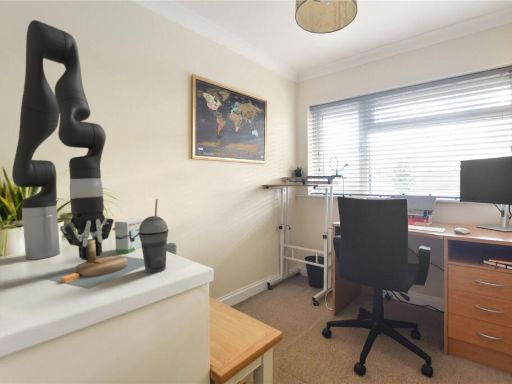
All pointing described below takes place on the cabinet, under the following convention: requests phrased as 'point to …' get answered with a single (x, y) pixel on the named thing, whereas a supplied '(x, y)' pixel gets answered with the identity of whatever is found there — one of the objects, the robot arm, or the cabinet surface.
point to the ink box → (127, 235)
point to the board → (87, 282)
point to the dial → (99, 263)
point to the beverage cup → (154, 242)
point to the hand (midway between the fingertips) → (91, 257)
